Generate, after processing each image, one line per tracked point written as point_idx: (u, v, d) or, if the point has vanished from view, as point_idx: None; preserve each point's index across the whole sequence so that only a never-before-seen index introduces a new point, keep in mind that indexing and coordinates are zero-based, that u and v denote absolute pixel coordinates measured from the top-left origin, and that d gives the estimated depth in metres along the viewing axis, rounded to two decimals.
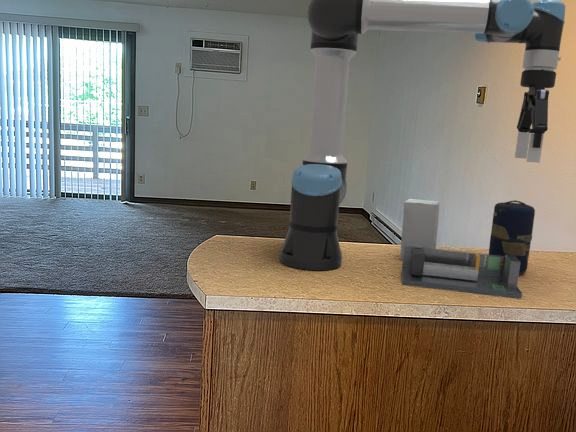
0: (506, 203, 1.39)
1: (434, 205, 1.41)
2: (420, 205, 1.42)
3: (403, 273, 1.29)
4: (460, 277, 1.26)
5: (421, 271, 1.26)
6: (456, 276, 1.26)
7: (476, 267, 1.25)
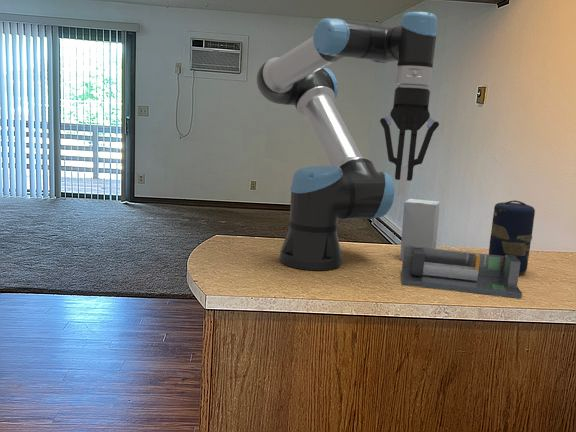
0: (506, 203, 1.39)
1: (434, 205, 1.41)
2: (420, 205, 1.42)
3: (403, 273, 1.29)
4: (460, 277, 1.26)
5: (421, 271, 1.26)
6: (456, 276, 1.26)
7: (476, 267, 1.25)
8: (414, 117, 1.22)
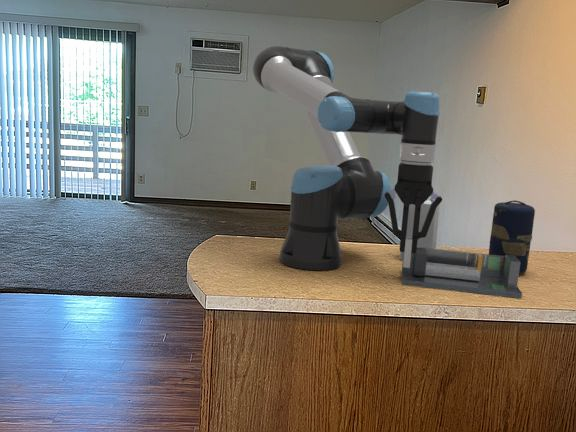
0: (506, 203, 1.39)
1: None
2: None
3: (403, 273, 1.29)
4: (462, 277, 1.26)
5: (423, 271, 1.26)
6: (458, 276, 1.26)
7: (478, 267, 1.25)
8: (418, 192, 1.24)
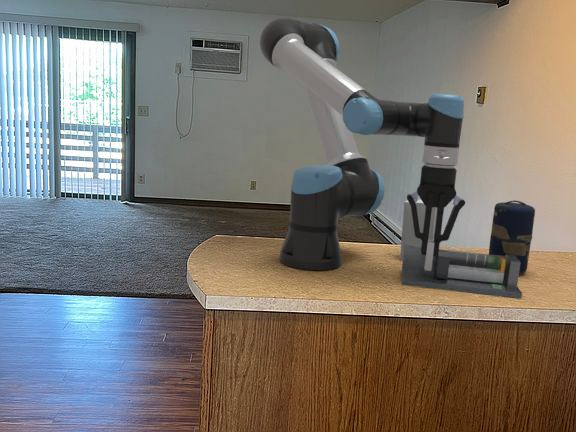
0: (506, 203, 1.39)
1: None
2: (420, 205, 1.42)
3: (403, 273, 1.29)
4: (485, 280, 1.25)
5: (446, 274, 1.25)
6: (481, 279, 1.25)
7: (501, 270, 1.24)
8: (441, 195, 1.23)
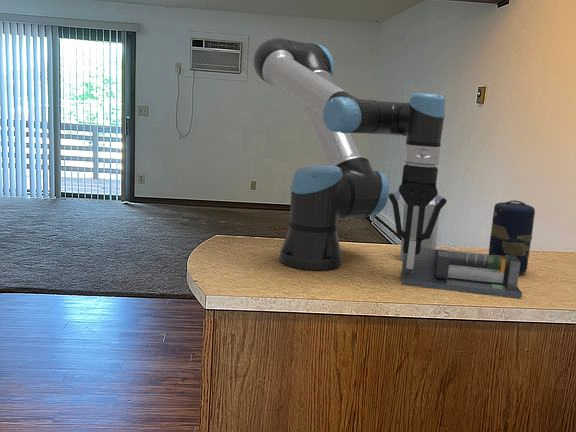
0: (506, 203, 1.39)
1: (434, 205, 1.41)
2: None
3: (403, 273, 1.29)
4: (485, 280, 1.25)
5: (446, 274, 1.25)
6: (481, 279, 1.25)
7: (501, 270, 1.24)
8: (422, 194, 1.24)
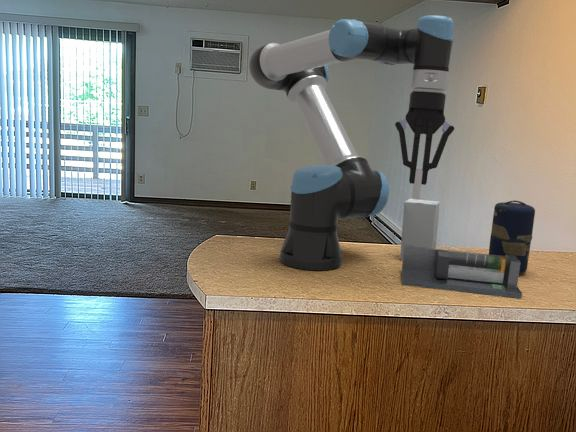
0: (506, 203, 1.39)
1: (434, 205, 1.41)
2: (420, 205, 1.42)
3: (403, 273, 1.29)
4: (485, 280, 1.25)
5: (446, 274, 1.25)
6: (481, 279, 1.25)
7: (501, 270, 1.24)
8: (429, 121, 1.21)
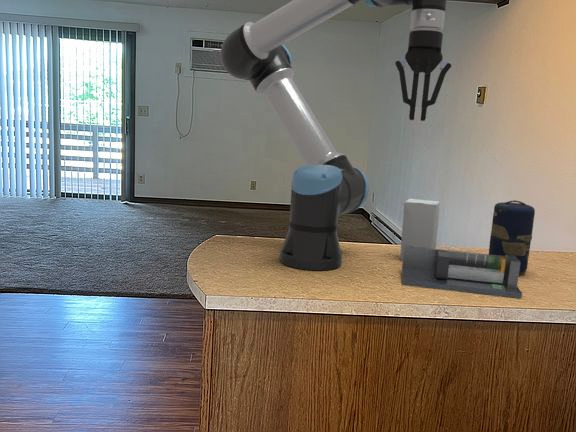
0: (506, 203, 1.39)
1: (434, 205, 1.41)
2: (420, 205, 1.42)
3: (403, 273, 1.29)
4: (485, 280, 1.25)
5: (446, 274, 1.25)
6: (481, 279, 1.25)
7: (501, 270, 1.24)
8: (428, 59, 1.28)
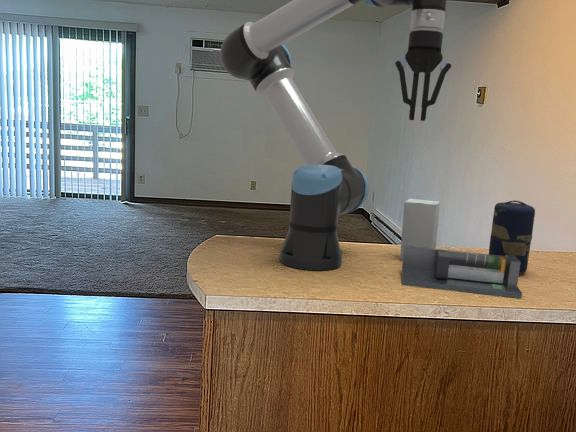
0: (506, 203, 1.39)
1: (434, 205, 1.41)
2: (420, 205, 1.42)
3: (403, 273, 1.29)
4: (485, 280, 1.25)
5: (446, 274, 1.25)
6: (481, 279, 1.25)
7: (501, 270, 1.24)
8: (428, 59, 1.28)
